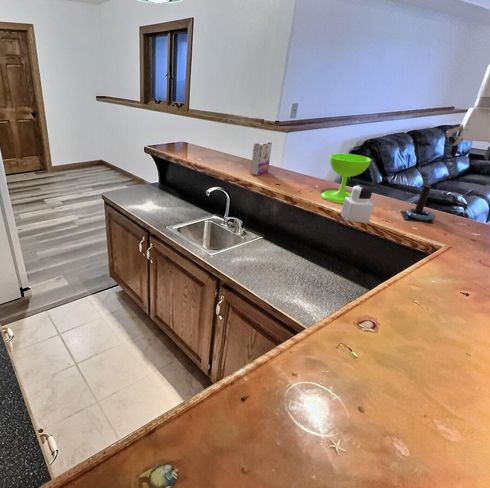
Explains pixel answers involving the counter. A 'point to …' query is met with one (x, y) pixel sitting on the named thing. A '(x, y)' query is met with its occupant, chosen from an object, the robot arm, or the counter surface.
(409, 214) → the ring
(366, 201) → the container
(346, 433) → the counter surface
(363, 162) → the wineglass
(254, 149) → the candy bar box
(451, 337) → the counter surface
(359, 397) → the counter surface
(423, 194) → the stand
